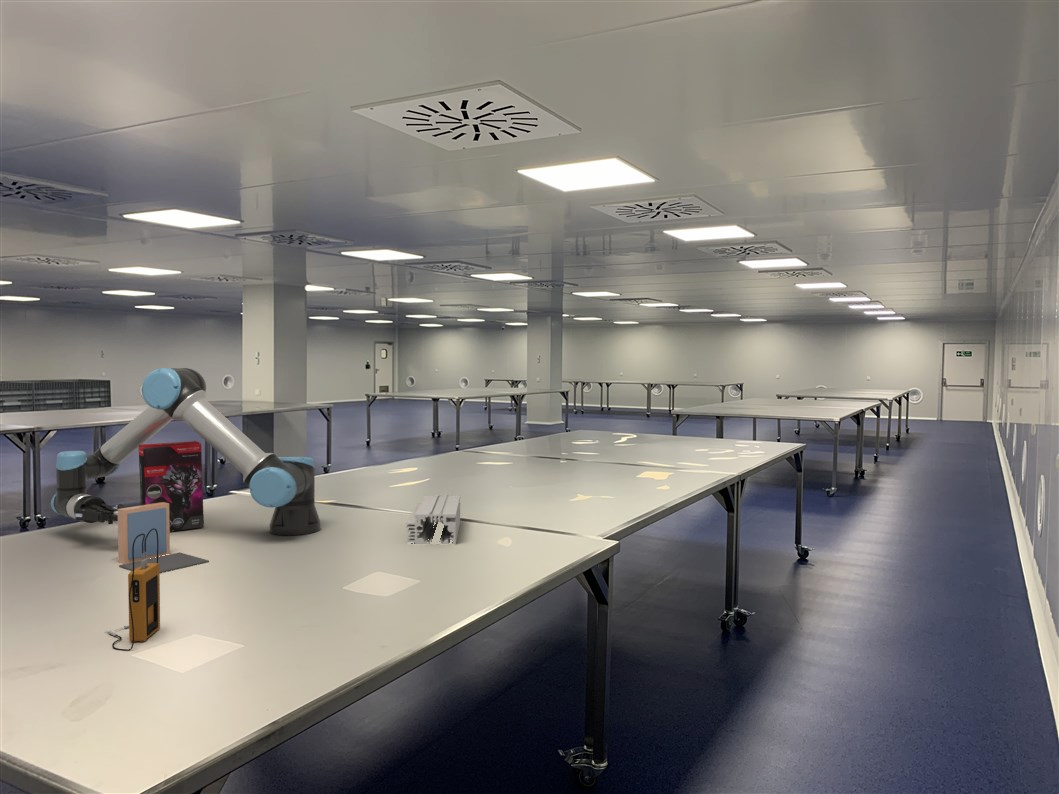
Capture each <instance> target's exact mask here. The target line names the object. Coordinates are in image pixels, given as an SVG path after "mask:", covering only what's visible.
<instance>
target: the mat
mask: <svg viewBox="0 0 1059 794" xmlns="http://www.w3.org/2000/svg"><path fill="white" fill-rule="evenodd" d="M206 562H207V563H210V560H209V559H205V558H202V557H197V556H194V555H191V554H187V553H183V552H176V553H170V555H165V556H160V557H158V563H159V566H160V574H163V573H162V572H164V573H167V572H166V571H168V572H171V570H172V571H175V569H177V570H180V569H179V568H181V569H184V568H183V567H185V568H189V567H193V565H194V566H197V564H198V565H202V564H206ZM147 563H157V557H156V558H151V559H147ZM140 566H141V561H137V562H134V570H135V569H137V568H138V567H140ZM188 566H189V567H188ZM118 567H119V568H122V569H125V570H127V571H130V572H131V571H133V562H132V563H127V564H119V565H118Z"/></svg>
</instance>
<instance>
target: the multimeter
mask: <svg viewBox="0 0 1059 794" xmlns="http://www.w3.org/2000/svg"><path fill="white" fill-rule="evenodd" d="M152 530H155V531H156V535H157V563H147V558H146V539H147V537H148V535H149V533H150V532H151V531H152ZM141 535H144V536H143V540H142V560H141V566H140V567H138V568H137V569H135V570H134V543H135V540H136V539H137V538H138V537H139V536H141ZM144 538H145V534H140V535H138V536H137V537H136V538H135V540H134V542H133V547H132V559H133V571H130V572H128V577H127V579H128V580H127V581H128V582H127V584H128V585H127V587H128V593H127V595H128V597H127V598H128V625H124V626H123V627H120V628H115V630H114V632H113V631H112V630H107V629H106V630H104V631H105V632H107V634H109V635H112V636H113V637H117V638H119V639H117V640H115V641H114V642H112V648H113V649H115V650H117V651H123V652H124V651H125V652H128V651H131V650H132V649H133V647H134V644H135V642H146V641H147V640H148V639H149V638H150V637H151V636H153V634H154V633H155V632H158V631H159V630H160V628H161V582H160V581H161V580H160V579H161V578H160V574H161V573H160V566H159V563H158V548H159V544H158V532H157V530H156V529H155V528H153V529H151V530H150V531H149V532H148V534H147V536H146V538H145V542H144ZM143 542H144V553H143ZM123 629H124V630H126V629H128V635H129V636H128V639H129V642H131V647H130V648H118V647H115V644H116V643H118V642H119V641H121V640H122V639H123V637H122V636H120V635H118V634H117V633H116V632H115V631H119V630H123Z"/></svg>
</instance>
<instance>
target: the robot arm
mask: <svg viewBox="0 0 1059 794" xmlns="http://www.w3.org/2000/svg"><path fill="white" fill-rule="evenodd" d="M143 379H144V380H143V382H142V385H141V391H142V392H141V394H142V397H143V400H144V402H145V403H146V405H148V406H147V408H146V409H144V410H143V411H142V412H140V414H138V415H137V416H136V417H135V418H134V419H132V420H131V421H130V422H129V423H128V424H126V425H125V426H124V427H123V428H121V429H120V430H119V431H117V433H116V434H114V435H113V436H112V437H110V439H108V440H107V441H106V442H105V443H103V444H102V445H101V446H100V447H99V448H98V449H97V450H95V451H94V452H93V453H91V454H87V453H86V451H83V450H66V451H61V452H59V453H57V456H56V464H55V471H56V472H55V473H56V475H55V476H56V489H55V492H56V493H54V495H53V496H52V498H51V500H50V507H51V509H52V510H53V511H54V512H55V514H58V515H60V516H62V517H64V518H65V517H66V518H70V519H73V520H76V521H80V522H81V523H88V524H95V523H104V522H107V524H108V525H113V524H114V523H117V524H118V509H121V508H126V507H125V506H124V505H123V504H122V503H120V504H118V505H117V504H116V505H115V506H114V507H113V505H111V504H110V505H109V504H107V503H106V501H104V499H103V498H101V497H98V496H96V495H91V494H87V481H89V480H92V479H97V478H103V477H108V476H109V475H112V474H115V473H116V472H117V471H118V469H119V468H120V464H121V463H122V462H124V460H126V459H127V458H129V456H131V455H132V454H133V453H134V452H136V451H137V450H139V445H141V444H146V442H148V441H149V440H150V439H151V438H153V437H154V436H155V435H157V434H158V432H160V431H161V430H162V429H163V428H165V427H166V426H168V424H169V423H170V422H172V421H183V422H184V423H185V424H186V425H188V426H189V427H190V428H191V429H192V430H193V431H194V432H195V433H196V434H197V435H198V436H199V437H201V438H202V439H203V440H204V441H205V442H207V443H208V445H209V446H211V447H212V448H213V449H214V450H215V451H216V452H217V453H219V455H221V456H222V457H223V458H224V459H225V460H226V461H227V462H228V463H230V464H231V465H232V466H233V467H234V468H235V469H237V470H238V472H239V473H241V474H242V475H243V478H242V479H243V481H242V482H243V483H244V484H245V485H246V486H247V487H248V488H249V492H250V495H251V498H252V499H253V500H254V501H255V502H256V503H257V504H259V505H260V506H262V507H264V508H274V511H273V513H272V517H271V520H270V523H269V533H270V534H273V535H279V536H300V535H301V536H302V535H306V534H307V535H308V534H312V533H315V532H319V531H320V530H321V519H320V517H319V513H318V511H317V508H316V506H315V496H316V495H315V494H316V493H315V487H316V486H315V485H316V484H315V471H316V467H315V461H314V459H313V458H312V457H306V456H305V457H304V456H303V457H302V456H277V455H276V454H275V453H274V452H265V451H264V450H262V449H261V448H260V447H259V446H258V445H257V444H256V443H255V442H253V441H252V439H251V438H249V437H248V436H247V435H246V434H245V433H244V432H242V431H241V430H240V429H239V428H238V427H237V426H236V425H234V424H233V422H231V421H230V420H229V419H228V418H227V417H225V415H224V414H222V413H221V412H220V411H219V410H218V409H216V407H214V405H212V404H211V403H210V402H209V401H208V400H207V399H206V391H207V385H206V380H205V379H204V377H203V375H201V374H200V373H199V372H198V371H197V370H195V369H192V368H188V367H182V368H181V367H180V368H177V367H176V368H175V367H174V368H173V367H172V368H171V367H162V368H157V369H155V370H152V371H150V372H149V373H148V374H147V375H146V376H145V377H144V378H143Z"/></svg>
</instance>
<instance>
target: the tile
mask: <svg viewBox="0 0 1059 794" xmlns="http://www.w3.org/2000/svg"><path fill="white" fill-rule="evenodd" d="M153 528H155V529H156V530H157V532H158V544H159V548H158V557H159V556H162V555H166V554H171V550H170V549H171V547H170V545H171V544H170V543H171V542H170V539H171V538H170V536H171V535H170V534H171V533H170V532H169V503H165V502H161V503H154V504H148V505H141V504H140V505H136V506H129V507H125V508H121V509H118V523H117V537H118V538H117V550H118V551H117V552H118V555H117V556H118V557H117V559H118V563H119V564H121V565H123V564H127V563H132V562H133V559H132V547H133V542H134V540H135V538H136V537H137V536H138V535H140V534H145V538H146V536H147V534H148V532H149V531H150V530H151V529H153ZM143 536H144V535H141V536H139V537H138V538H137V539H136V540H135V543H134V562H137V561H141V560H142V540H143ZM145 538H144V542H145ZM144 542H143V553H144ZM155 557H157V535H156V531H155V530H152V531H151V532H150V533H149V535H148V537H147V539H146V558H147V559H150V558H155Z"/></svg>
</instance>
